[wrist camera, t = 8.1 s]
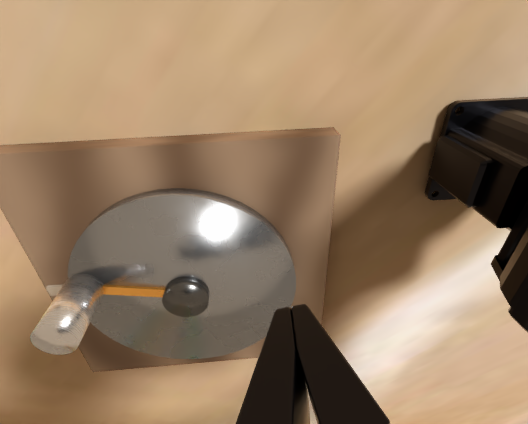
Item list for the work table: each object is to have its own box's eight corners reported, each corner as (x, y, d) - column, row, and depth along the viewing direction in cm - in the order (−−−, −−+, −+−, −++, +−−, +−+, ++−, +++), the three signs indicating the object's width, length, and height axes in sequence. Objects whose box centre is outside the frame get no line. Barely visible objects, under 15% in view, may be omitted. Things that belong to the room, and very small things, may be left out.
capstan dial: (315, 201, 19) (337, 251, 15) (275, 350, 27) (281, 412, 23) (50, 174, 17) (-12, 225, 13) (88, 345, 25) (57, 412, 20)
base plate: (333, 127, 19) (341, 136, 17) (315, 337, 29) (319, 354, 28) (-10, 145, 18) (-32, 157, 16) (99, 356, 28) (91, 374, 27)
